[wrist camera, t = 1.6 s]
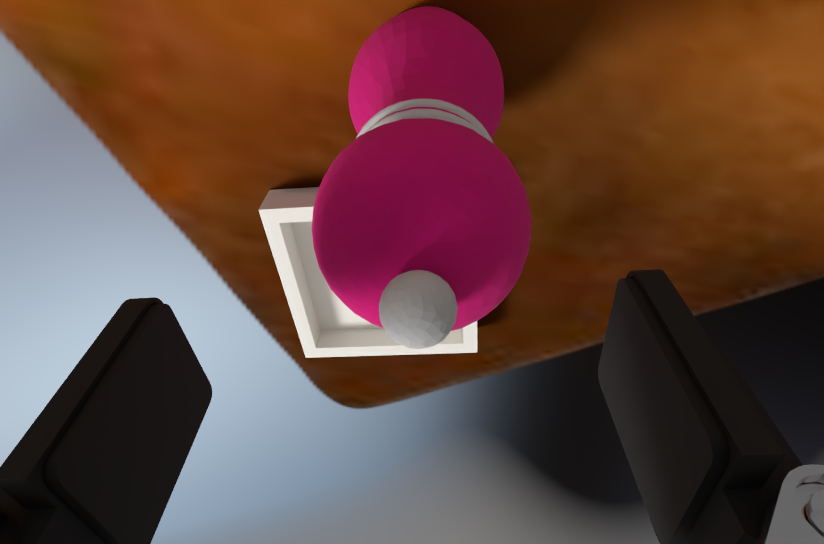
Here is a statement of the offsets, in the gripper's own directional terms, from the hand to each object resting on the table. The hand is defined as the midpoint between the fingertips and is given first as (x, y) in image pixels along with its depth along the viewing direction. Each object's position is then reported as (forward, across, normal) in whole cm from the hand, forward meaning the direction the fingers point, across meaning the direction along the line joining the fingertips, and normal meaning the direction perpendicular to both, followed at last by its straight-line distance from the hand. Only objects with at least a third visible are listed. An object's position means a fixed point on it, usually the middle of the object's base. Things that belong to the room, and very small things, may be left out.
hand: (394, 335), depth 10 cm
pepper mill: (+20, -1, 0) cm, 20 cm away
